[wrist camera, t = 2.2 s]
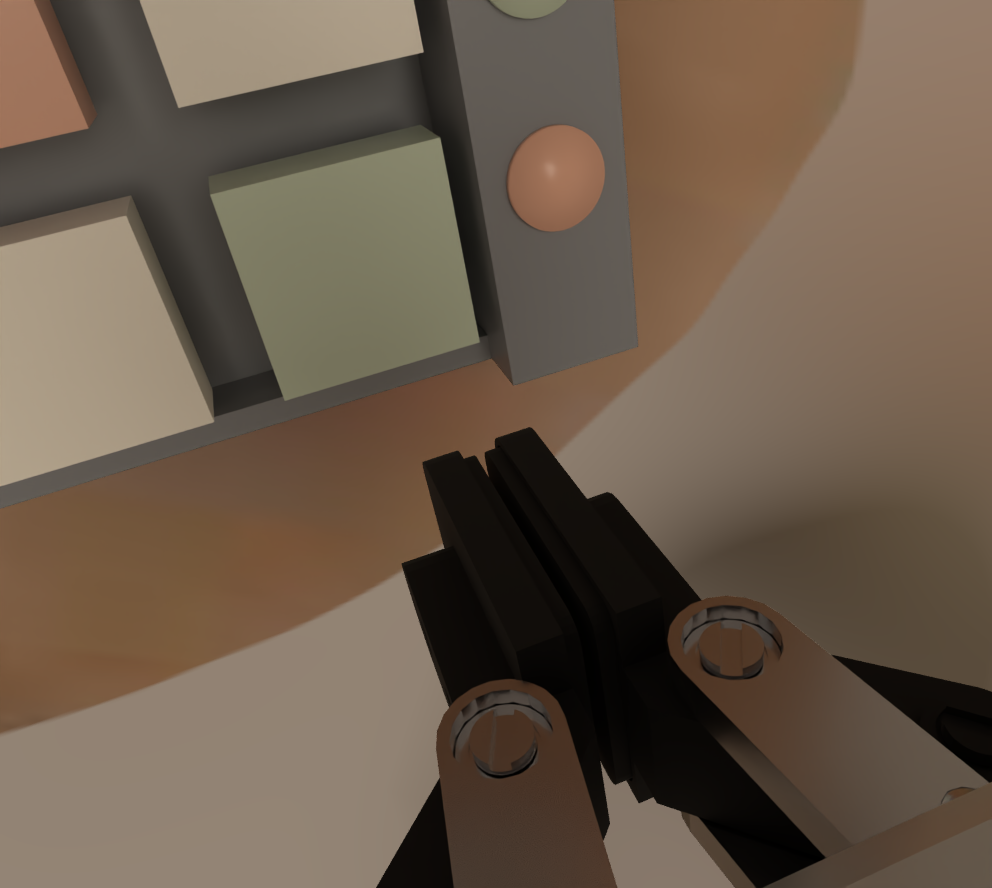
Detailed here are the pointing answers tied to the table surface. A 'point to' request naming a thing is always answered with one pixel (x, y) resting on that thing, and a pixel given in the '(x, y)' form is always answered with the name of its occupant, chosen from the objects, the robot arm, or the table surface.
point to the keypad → (344, 118)
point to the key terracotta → (38, 76)
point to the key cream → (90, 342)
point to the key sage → (349, 257)
